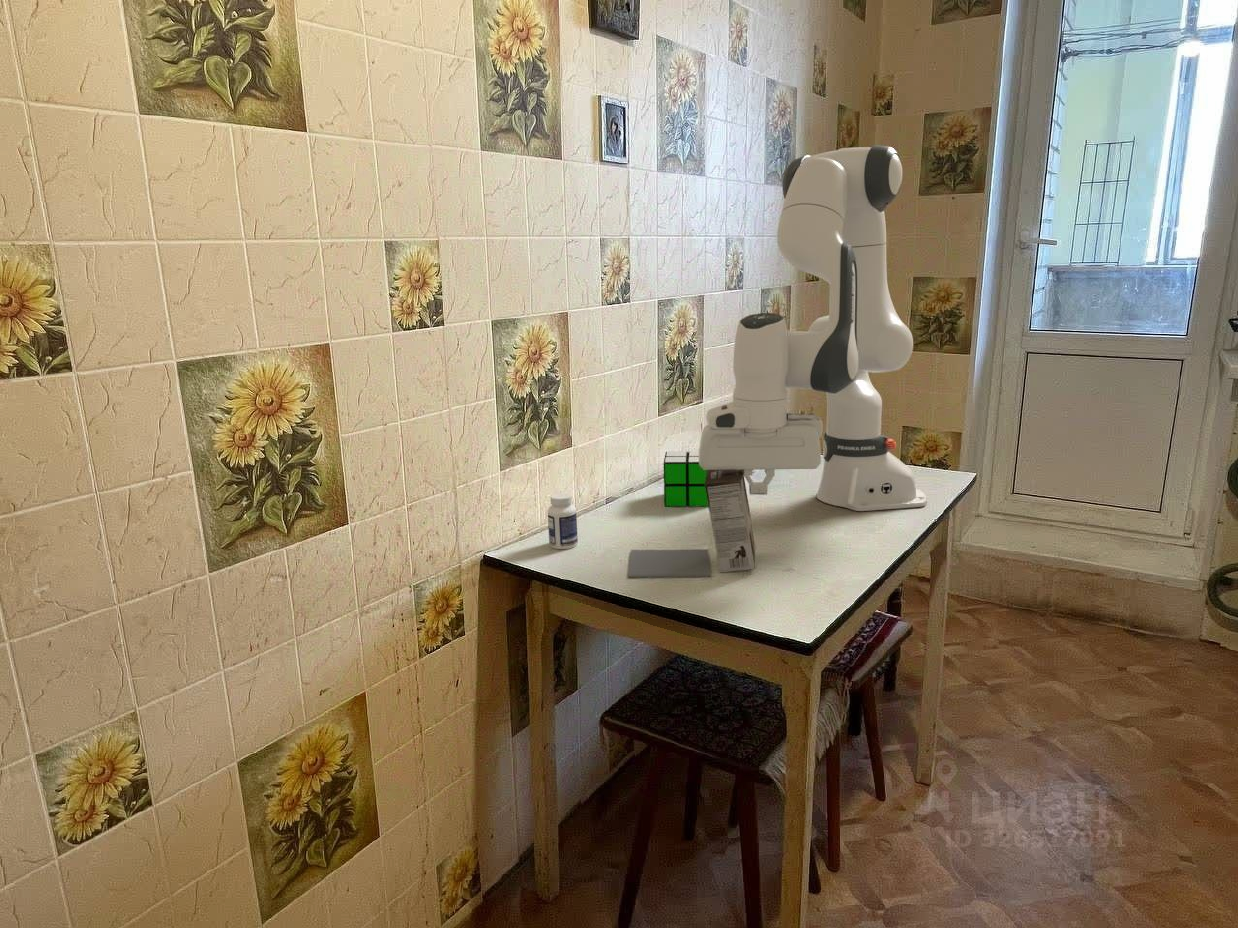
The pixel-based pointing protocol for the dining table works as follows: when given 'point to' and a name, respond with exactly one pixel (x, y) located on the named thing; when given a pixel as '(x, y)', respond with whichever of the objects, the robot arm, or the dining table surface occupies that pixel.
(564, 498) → the pill bottle
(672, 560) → the mat
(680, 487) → the puzzle cube
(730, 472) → the coffee box
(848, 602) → the dining table surface
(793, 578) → the dining table surface
